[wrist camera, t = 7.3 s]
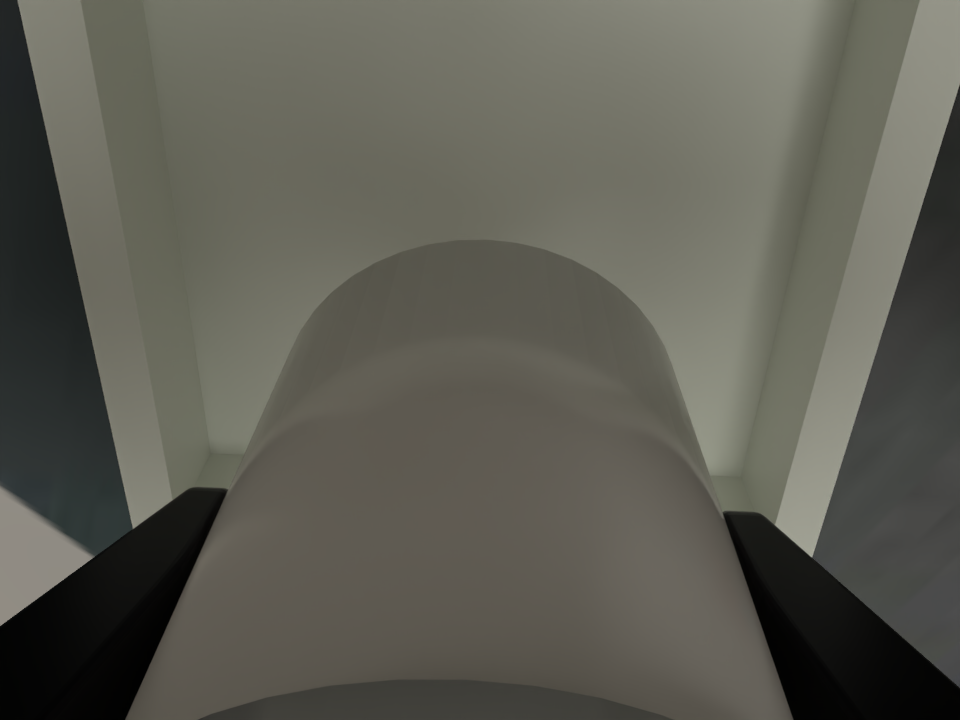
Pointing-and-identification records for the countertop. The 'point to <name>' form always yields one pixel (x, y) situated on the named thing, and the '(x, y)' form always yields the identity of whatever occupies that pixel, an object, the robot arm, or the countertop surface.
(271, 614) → the cylinder
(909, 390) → the countertop surface
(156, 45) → the sage tray
